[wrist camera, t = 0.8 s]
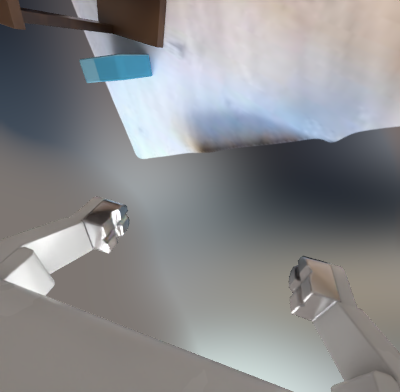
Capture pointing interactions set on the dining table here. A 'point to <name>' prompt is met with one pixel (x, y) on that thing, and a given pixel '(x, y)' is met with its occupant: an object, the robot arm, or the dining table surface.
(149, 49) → the dining table surface
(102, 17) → the shelf
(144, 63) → the data package
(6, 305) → the robot arm
